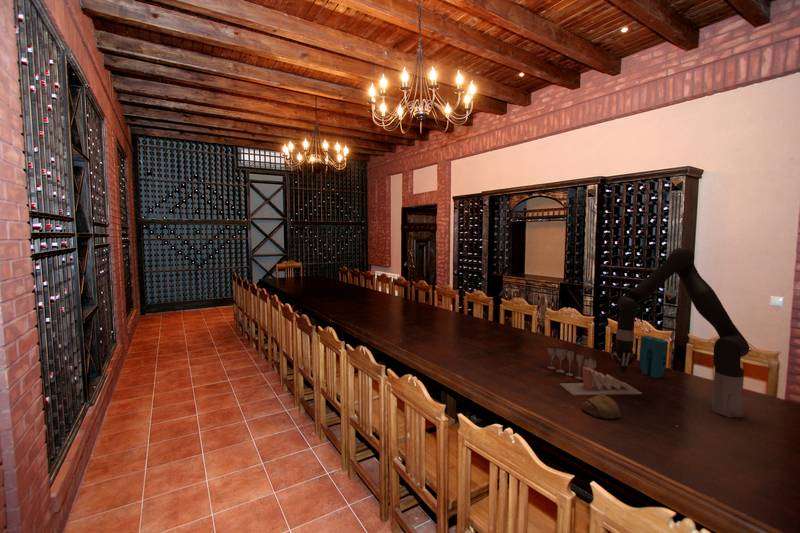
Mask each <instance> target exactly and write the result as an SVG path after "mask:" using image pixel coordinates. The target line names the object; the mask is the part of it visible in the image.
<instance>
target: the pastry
mask: <svg viewBox="0 0 800 533" xmlns="http://www.w3.org/2000/svg"><path fill="white" fill-rule="evenodd" d="M581 408H582V409H583V411H584V412H585V413H587V414H589V415H591V416H593V417H595V418H597V419H598V418H599V419H605V420H606V419H608V420H614V419H619V418H621V413H620V408H619V405H618V404H617V402H616V400H614V399H613V398H612V397H610V395H606V394H599V395H593V396H592V397H590V398H588V399H586V401H584V402H583V403H582V405H581Z"/></svg>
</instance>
